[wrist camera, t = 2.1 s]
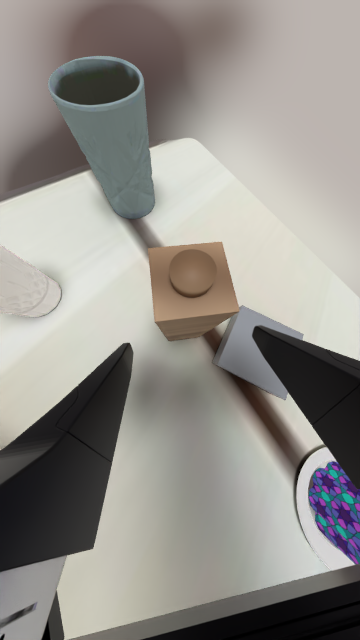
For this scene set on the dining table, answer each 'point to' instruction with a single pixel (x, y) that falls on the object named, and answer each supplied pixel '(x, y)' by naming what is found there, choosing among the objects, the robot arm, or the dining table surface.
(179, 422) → the dining table surface
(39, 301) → the white cup
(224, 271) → the column
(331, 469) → the purple patterned hat
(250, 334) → the base brick
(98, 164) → the green cup
